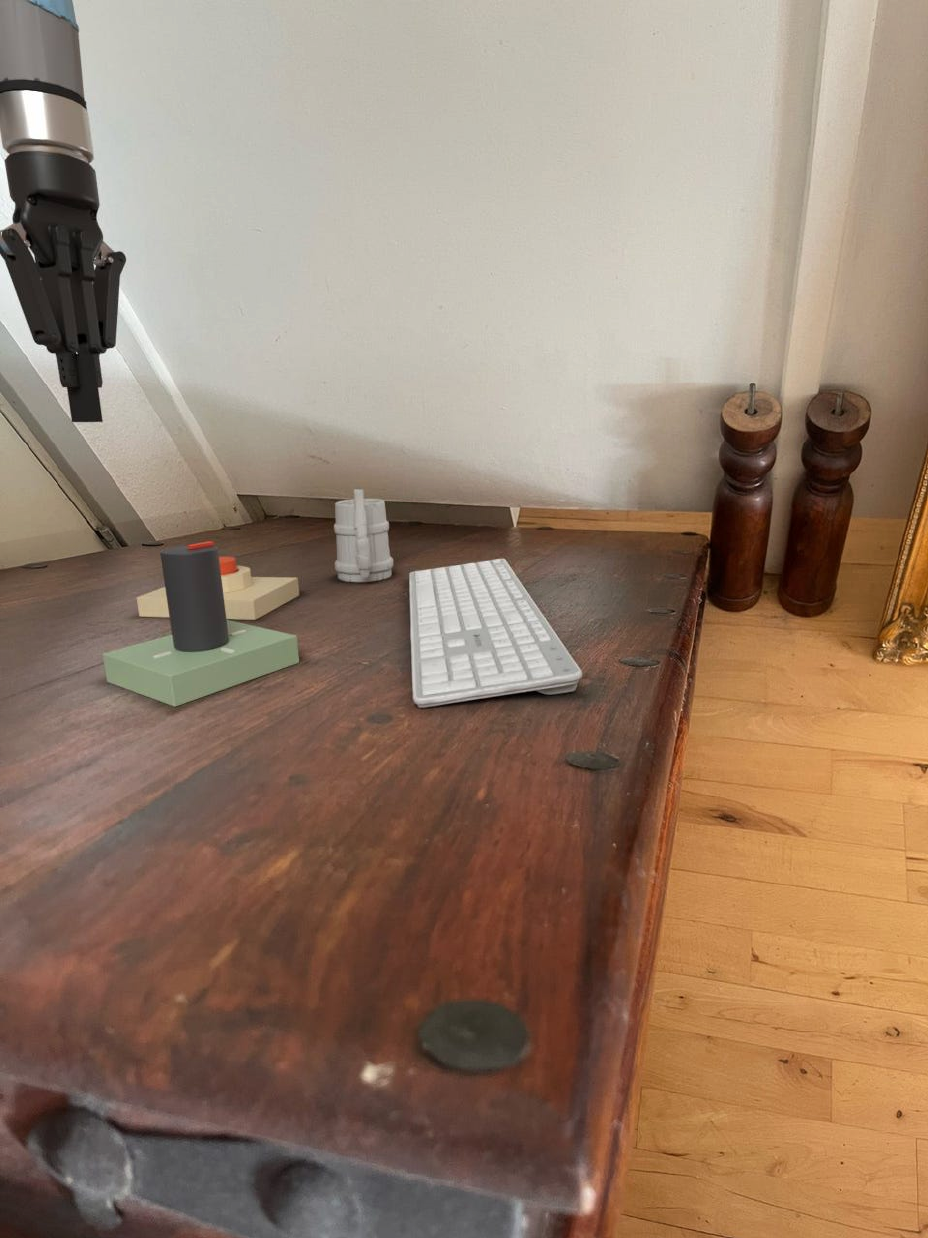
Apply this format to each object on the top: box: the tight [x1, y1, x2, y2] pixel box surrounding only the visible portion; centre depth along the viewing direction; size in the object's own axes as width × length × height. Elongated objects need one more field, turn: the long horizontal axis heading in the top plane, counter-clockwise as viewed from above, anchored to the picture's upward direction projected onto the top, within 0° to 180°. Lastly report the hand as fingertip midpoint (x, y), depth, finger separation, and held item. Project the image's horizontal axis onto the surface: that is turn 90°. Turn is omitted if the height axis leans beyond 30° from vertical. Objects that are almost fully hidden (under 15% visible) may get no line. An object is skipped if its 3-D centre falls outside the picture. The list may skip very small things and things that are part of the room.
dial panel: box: [102, 619, 300, 708], centre depth 63 cm, size 10×12×3 cm
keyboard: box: [408, 558, 583, 708], centre depth 74 cm, size 44×12×2 cm, turn 4°
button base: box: [136, 565, 300, 621], centre depth 85 cm, size 14×11×4 cm
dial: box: [159, 540, 229, 651], centre depth 61 cm, size 4×4×8 cm
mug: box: [333, 488, 394, 583], centre depth 95 cm, size 8×12×12 cm, turn 8°
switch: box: [219, 556, 237, 575], centre depth 84 cm, size 4×4×2 cm
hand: (87, 421), depth 76 cm, fingers closed
